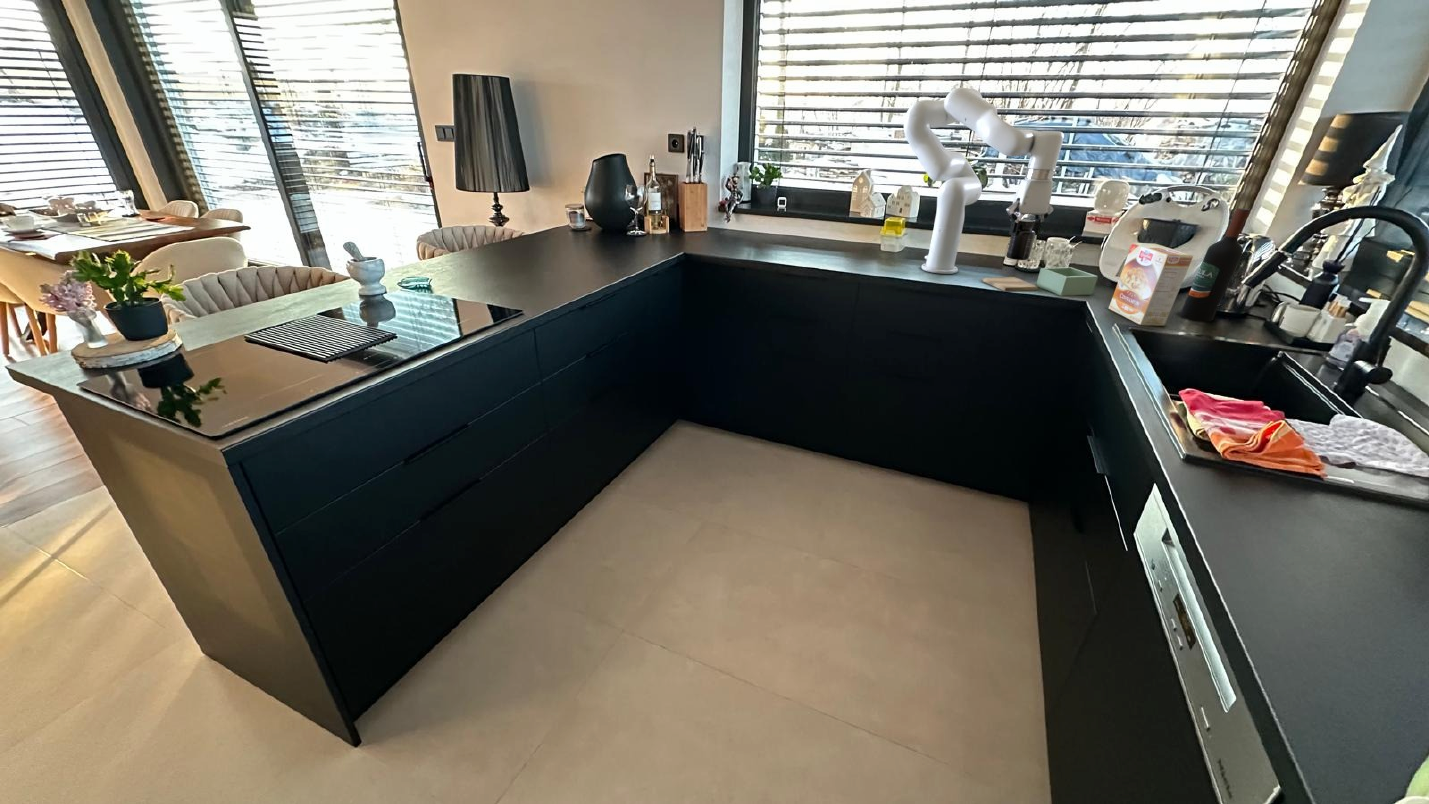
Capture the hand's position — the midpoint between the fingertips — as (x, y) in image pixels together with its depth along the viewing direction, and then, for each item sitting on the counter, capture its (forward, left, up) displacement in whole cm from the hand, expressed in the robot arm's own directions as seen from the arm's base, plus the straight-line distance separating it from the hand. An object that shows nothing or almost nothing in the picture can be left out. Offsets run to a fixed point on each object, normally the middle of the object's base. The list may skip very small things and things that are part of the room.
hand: (1023, 234), depth 179 cm
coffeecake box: (+34, +16, -17) cm, 42 cm away
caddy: (+7, +15, -17) cm, 24 cm away
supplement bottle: (0, 0, -8) cm, 8 cm away
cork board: (0, 0, -17) cm, 17 cm away
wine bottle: (+37, +34, -17) cm, 53 cm away
